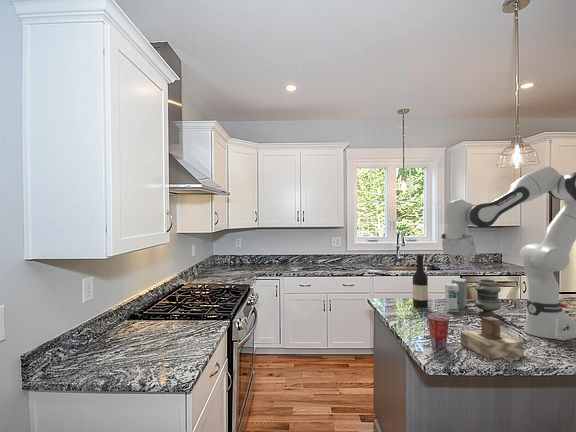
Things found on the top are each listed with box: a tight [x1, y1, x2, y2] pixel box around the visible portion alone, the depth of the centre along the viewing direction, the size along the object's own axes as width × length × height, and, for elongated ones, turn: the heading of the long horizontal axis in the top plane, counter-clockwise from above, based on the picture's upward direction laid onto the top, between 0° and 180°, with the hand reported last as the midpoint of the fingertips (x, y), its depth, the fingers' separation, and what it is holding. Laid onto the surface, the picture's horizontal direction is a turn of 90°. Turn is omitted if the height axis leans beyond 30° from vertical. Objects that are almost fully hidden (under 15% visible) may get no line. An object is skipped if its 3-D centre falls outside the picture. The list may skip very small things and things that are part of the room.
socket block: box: [460, 329, 525, 360], centre depth 137 cm, size 15×15×5 cm
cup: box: [426, 313, 451, 350], centre depth 141 cm, size 9×8×12 cm
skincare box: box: [451, 277, 468, 310], centre depth 201 cm, size 8×7×16 cm
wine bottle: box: [412, 253, 429, 309], centre depth 204 cm, size 8×8×30 cm
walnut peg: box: [480, 316, 501, 340], centre depth 137 cm, size 4×4×12 cm
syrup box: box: [444, 283, 460, 313], centre depth 193 cm, size 6×6×14 cm
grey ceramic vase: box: [474, 278, 502, 319], centre depth 184 cm, size 12×12×18 cm
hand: (459, 265), depth 162 cm, fingers open, 8 cm apart
